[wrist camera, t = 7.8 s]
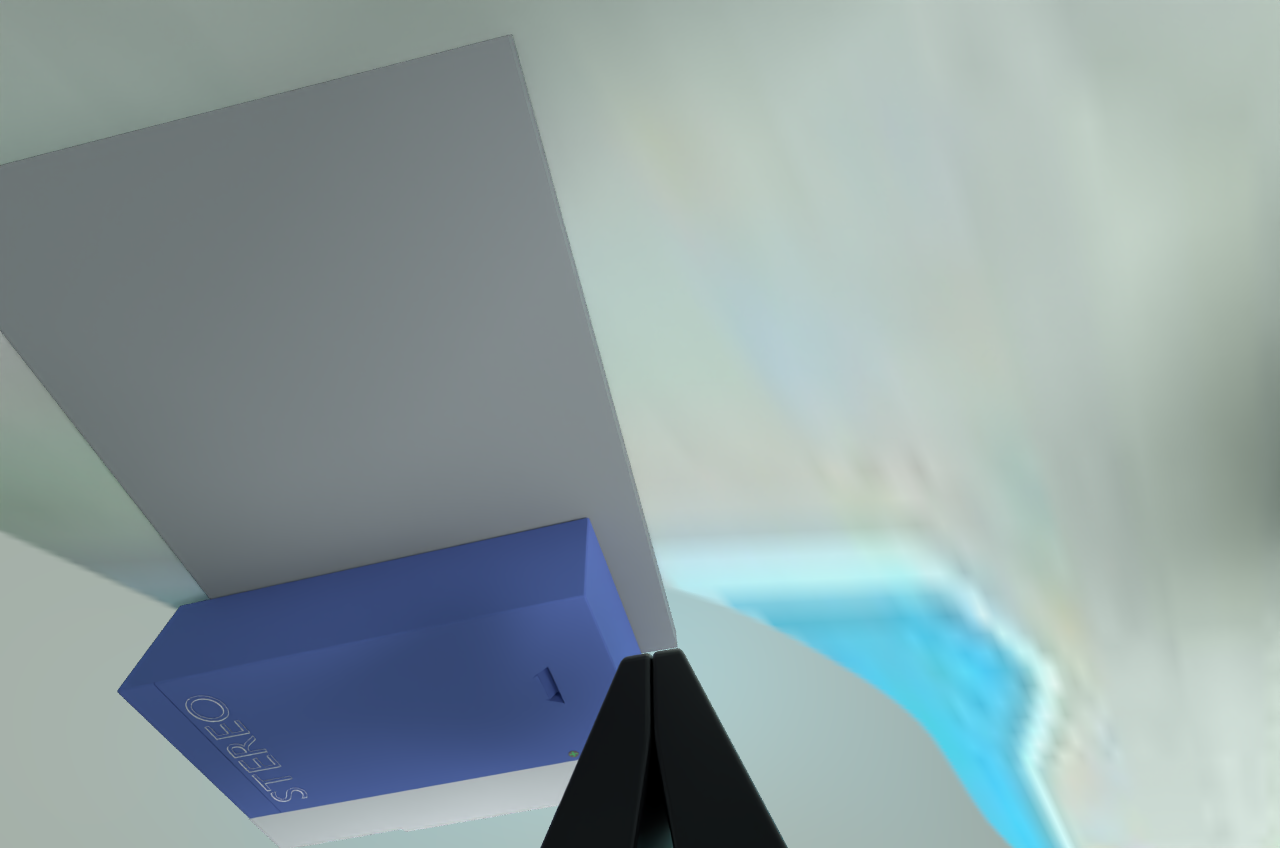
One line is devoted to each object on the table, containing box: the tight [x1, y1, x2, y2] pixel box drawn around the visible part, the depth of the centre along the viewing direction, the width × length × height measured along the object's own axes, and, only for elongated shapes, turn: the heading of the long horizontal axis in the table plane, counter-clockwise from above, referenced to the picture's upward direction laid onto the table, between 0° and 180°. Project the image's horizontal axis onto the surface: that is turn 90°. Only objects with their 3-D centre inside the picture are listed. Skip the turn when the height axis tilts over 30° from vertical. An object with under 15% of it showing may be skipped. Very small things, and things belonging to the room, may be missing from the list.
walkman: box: [118, 518, 641, 848], centre depth 18 cm, size 8×3×12 cm
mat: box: [0, 35, 677, 653], centre depth 16 cm, size 12×16×1 cm
